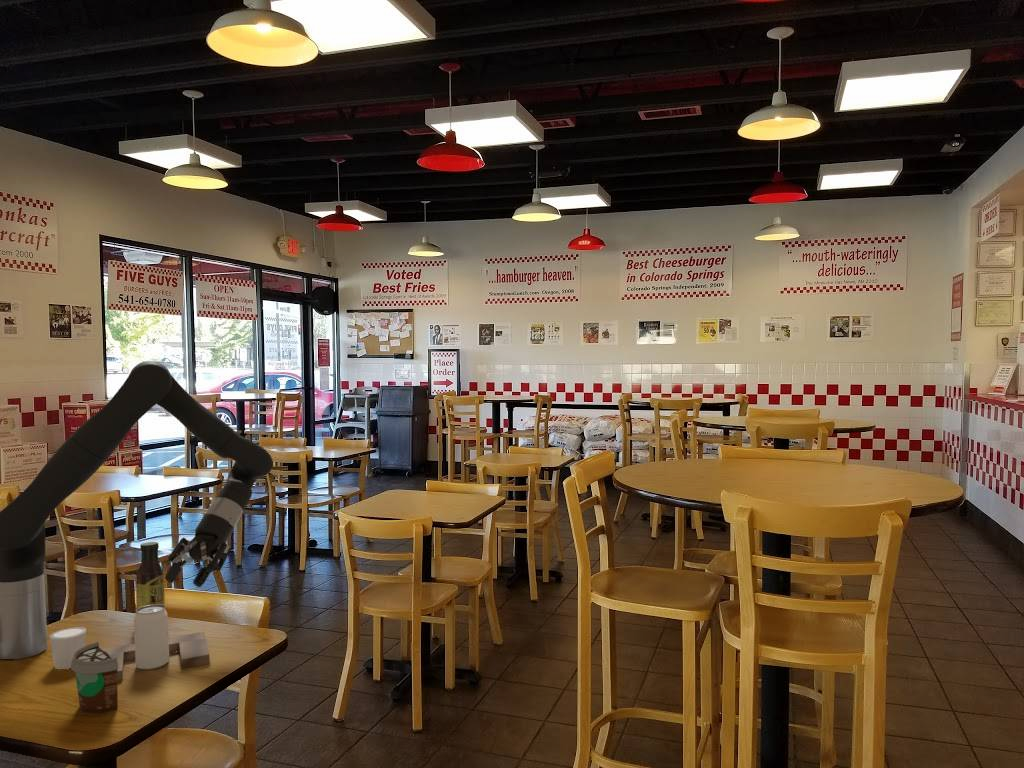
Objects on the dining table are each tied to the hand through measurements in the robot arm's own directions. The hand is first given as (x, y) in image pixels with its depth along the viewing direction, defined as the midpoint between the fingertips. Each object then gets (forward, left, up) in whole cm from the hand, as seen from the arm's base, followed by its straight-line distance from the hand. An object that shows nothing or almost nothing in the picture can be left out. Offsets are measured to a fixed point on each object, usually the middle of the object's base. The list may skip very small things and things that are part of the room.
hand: (182, 583), depth 166 cm
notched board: (-7, -4, -15) cm, 17 cm away
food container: (-17, -21, -15) cm, 31 cm away
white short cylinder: (-23, +3, -15) cm, 28 cm away
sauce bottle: (-7, +22, -15) cm, 28 cm away
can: (-7, -5, -15) cm, 17 cm away
